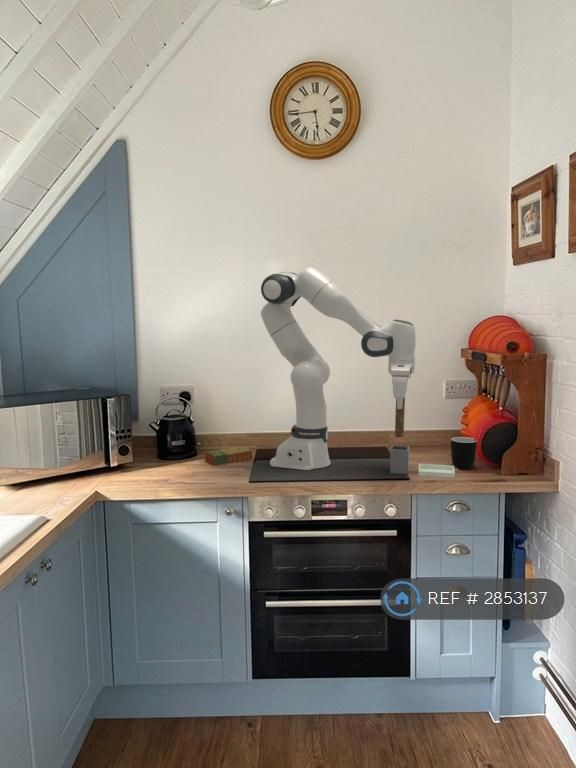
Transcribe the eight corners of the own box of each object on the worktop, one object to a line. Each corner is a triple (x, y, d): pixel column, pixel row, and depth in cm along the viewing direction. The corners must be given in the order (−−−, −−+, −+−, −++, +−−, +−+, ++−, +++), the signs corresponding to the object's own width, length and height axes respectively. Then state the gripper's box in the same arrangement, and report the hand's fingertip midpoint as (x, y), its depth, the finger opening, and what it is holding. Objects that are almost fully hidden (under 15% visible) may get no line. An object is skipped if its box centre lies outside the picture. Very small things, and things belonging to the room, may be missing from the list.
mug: (480, 470, 213) (481, 442, 211) (455, 470, 212) (456, 442, 211) (466, 461, 225) (467, 434, 223) (443, 462, 224) (444, 435, 222)
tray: (418, 477, 204) (418, 471, 204) (418, 469, 214) (418, 463, 214) (454, 479, 202) (455, 473, 201) (453, 471, 211) (453, 465, 211)
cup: (389, 475, 207) (390, 449, 206) (391, 470, 213) (391, 445, 212) (408, 476, 206) (408, 450, 205) (408, 471, 212) (409, 446, 211)
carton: (252, 460, 230) (252, 449, 230) (214, 466, 222) (214, 455, 221) (242, 455, 237) (242, 445, 236) (204, 461, 229) (204, 450, 228)
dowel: (394, 436, 207) (395, 396, 205) (395, 435, 210) (396, 395, 208) (403, 437, 206) (404, 397, 204) (403, 435, 209) (405, 395, 207)
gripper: (393, 364, 216) (392, 402, 217) (390, 370, 196) (388, 412, 198) (411, 365, 214) (410, 403, 216) (409, 371, 194) (408, 413, 196)
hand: (400, 407), depth 207 cm, fingers closed on dowel, 3 cm apart
